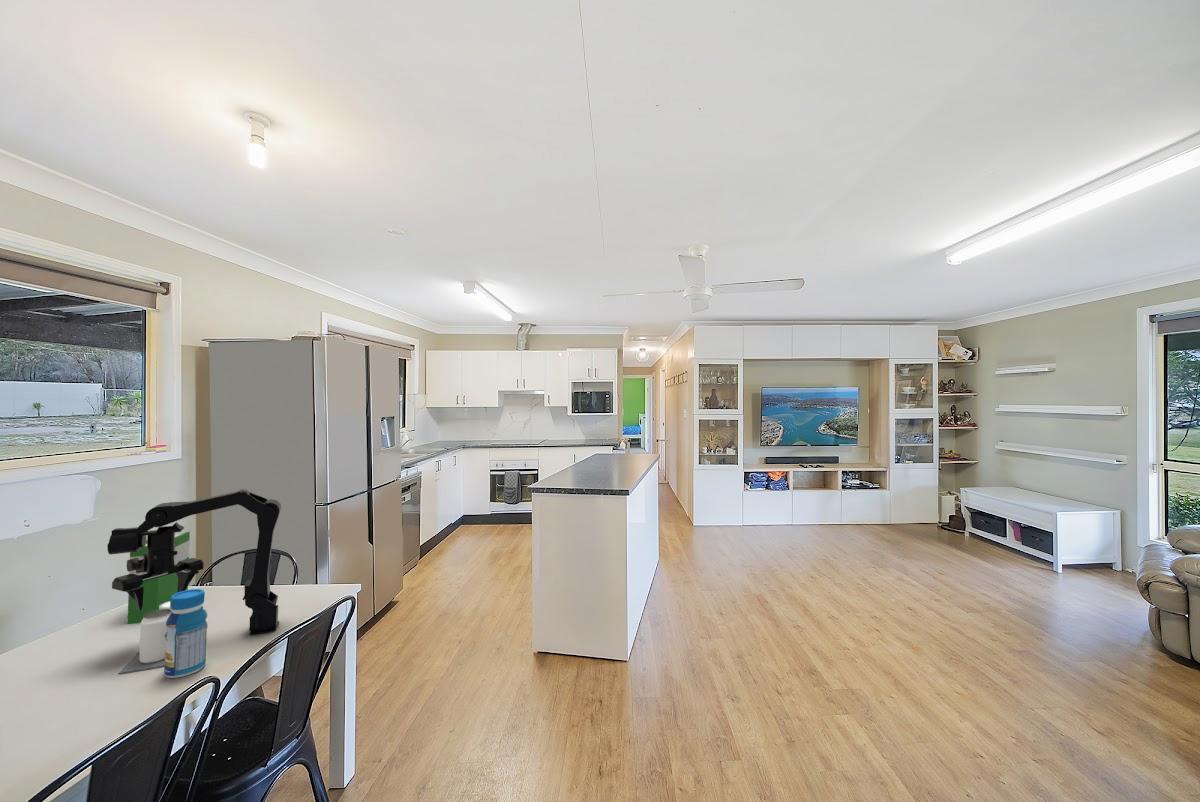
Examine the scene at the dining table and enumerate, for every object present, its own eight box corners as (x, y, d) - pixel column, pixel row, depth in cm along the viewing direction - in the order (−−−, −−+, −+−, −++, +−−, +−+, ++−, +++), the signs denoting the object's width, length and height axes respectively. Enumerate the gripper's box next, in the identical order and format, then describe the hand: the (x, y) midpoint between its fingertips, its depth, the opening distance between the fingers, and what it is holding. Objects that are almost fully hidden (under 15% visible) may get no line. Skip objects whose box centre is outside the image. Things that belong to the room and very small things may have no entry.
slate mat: (188, 645, 134) (188, 644, 134) (174, 665, 124) (174, 663, 124) (137, 654, 129) (137, 652, 129) (118, 674, 119) (118, 673, 119)
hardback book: (161, 601, 163) (164, 532, 164) (187, 599, 165) (189, 531, 166) (127, 624, 146) (130, 547, 147) (156, 621, 148) (159, 545, 149)
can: (132, 665, 123) (134, 619, 123) (150, 652, 129) (151, 609, 129) (161, 662, 124) (163, 617, 125) (177, 650, 131) (179, 607, 131)
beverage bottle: (191, 678, 118) (194, 599, 119) (154, 680, 117) (157, 600, 117) (213, 660, 127) (216, 586, 127) (178, 662, 125) (181, 587, 126)
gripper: (182, 537, 144) (181, 587, 144) (100, 555, 127) (100, 612, 127) (205, 541, 140) (204, 593, 140) (124, 560, 123) (123, 619, 123)
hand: (160, 603), depth 133 cm, fingers open, 9 cm apart
